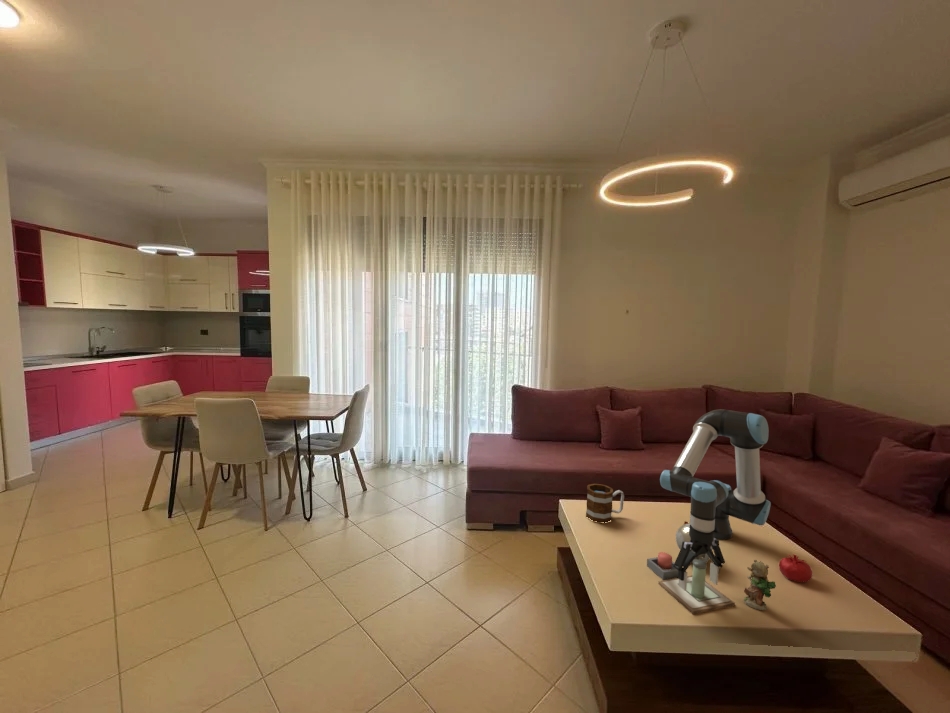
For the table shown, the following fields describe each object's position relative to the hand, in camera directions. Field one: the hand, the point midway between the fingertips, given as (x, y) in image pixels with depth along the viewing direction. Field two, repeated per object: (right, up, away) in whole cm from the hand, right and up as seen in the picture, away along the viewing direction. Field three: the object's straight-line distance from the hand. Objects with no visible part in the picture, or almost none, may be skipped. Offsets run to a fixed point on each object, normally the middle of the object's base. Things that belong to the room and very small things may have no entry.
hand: (698, 585), depth 136 cm
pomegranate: (+46, -6, +14) cm, 48 cm away
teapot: (+12, -4, +23) cm, 27 cm away
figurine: (+19, -6, -3) cm, 20 cm away
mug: (-13, -1, +60) cm, 61 cm away
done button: (-4, -2, +16) cm, 16 cm away
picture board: (0, -5, +3) cm, 5 cm away
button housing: (-4, -4, +16) cm, 17 cm away
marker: (0, -4, 0) cm, 4 cm away
